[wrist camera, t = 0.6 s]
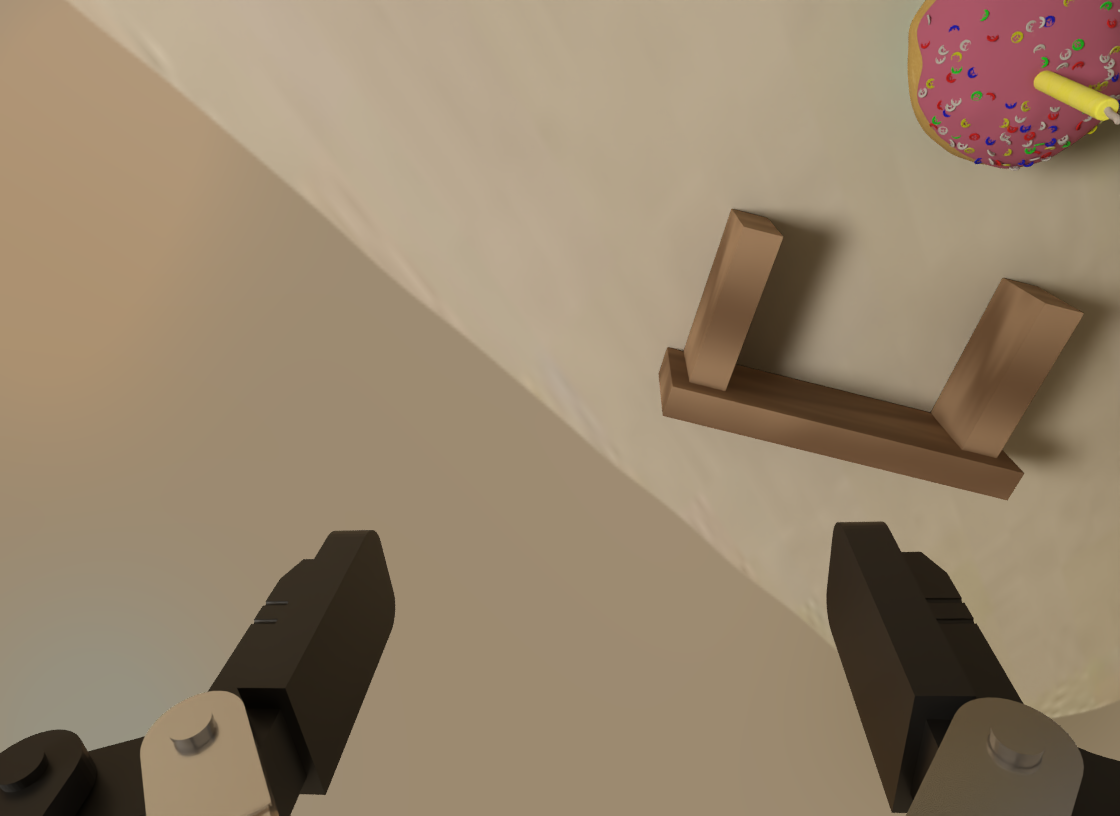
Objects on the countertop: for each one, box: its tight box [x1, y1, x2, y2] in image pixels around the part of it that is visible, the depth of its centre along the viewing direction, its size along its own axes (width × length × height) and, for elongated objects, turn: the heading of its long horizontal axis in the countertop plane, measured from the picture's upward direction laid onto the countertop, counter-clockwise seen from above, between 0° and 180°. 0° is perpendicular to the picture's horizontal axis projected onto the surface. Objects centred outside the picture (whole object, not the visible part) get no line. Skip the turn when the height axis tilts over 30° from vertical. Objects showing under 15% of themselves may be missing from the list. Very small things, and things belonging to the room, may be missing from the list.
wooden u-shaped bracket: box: [659, 209, 1084, 500], centre depth 35 cm, size 9×17×5 cm, turn 77°
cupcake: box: [908, 0, 1120, 171], centre depth 25 cm, size 9×8×12 cm
